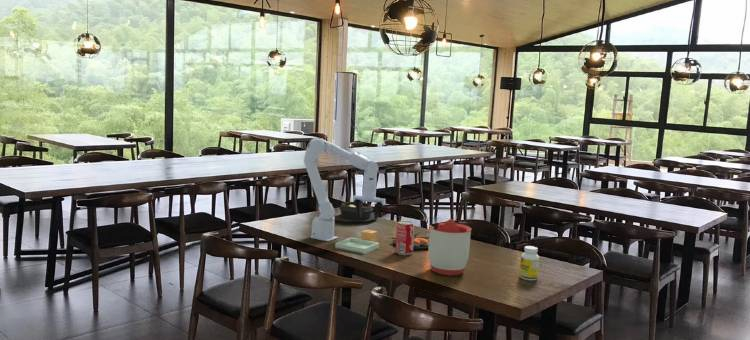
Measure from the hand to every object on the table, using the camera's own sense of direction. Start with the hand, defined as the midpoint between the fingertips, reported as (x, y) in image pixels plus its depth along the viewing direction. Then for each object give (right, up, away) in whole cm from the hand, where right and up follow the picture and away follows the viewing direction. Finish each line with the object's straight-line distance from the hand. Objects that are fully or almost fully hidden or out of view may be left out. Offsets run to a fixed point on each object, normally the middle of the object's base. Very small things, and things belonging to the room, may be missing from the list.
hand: (368, 217), depth 265 cm
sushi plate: (+23, -11, +2) cm, 26 cm away
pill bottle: (+59, -19, -44) cm, 76 cm away
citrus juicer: (+29, -17, -40) cm, 52 cm away
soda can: (+15, -13, -19) cm, 28 cm away
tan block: (0, -10, -5) cm, 11 cm away
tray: (-4, -11, -15) cm, 19 cm away
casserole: (-7, -5, +36) cm, 37 cm away
